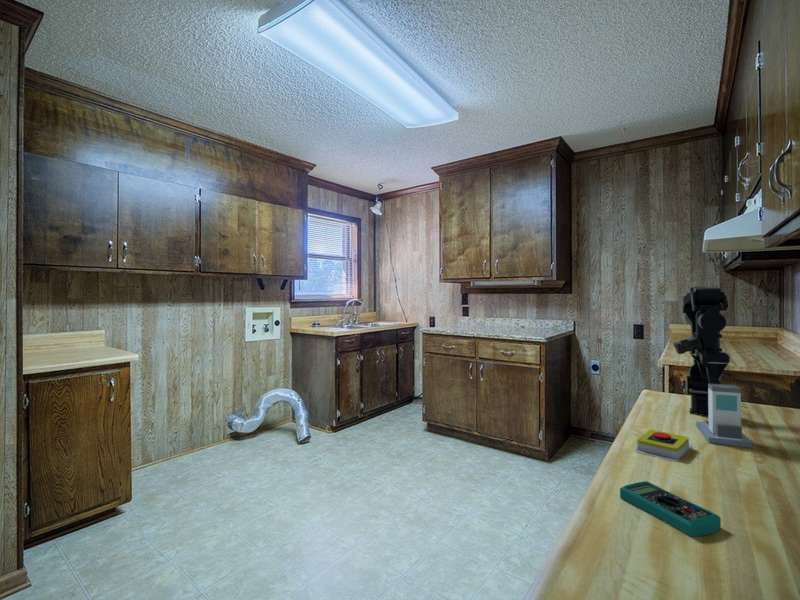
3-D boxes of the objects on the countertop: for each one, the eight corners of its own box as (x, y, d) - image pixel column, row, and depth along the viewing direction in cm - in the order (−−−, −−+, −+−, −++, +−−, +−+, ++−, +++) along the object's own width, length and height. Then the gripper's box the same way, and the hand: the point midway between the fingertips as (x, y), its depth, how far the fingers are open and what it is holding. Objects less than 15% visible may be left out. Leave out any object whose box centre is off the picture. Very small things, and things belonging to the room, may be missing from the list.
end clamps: (708, 425, 116) (708, 415, 116) (730, 427, 113) (730, 417, 113) (717, 436, 107) (717, 425, 107) (742, 439, 105) (741, 427, 105)
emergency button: (633, 436, 103) (652, 422, 113) (633, 453, 103) (652, 438, 113) (676, 445, 96) (692, 430, 106) (676, 464, 96) (692, 447, 106)
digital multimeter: (694, 542, 66) (694, 524, 66) (617, 499, 80) (617, 484, 80) (725, 532, 68) (725, 515, 68) (645, 492, 82) (645, 478, 82)
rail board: (696, 426, 121) (696, 421, 121) (734, 430, 117) (734, 424, 117) (708, 442, 108) (708, 437, 108) (752, 447, 104) (752, 441, 104)
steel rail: (704, 421, 120) (704, 420, 120) (725, 424, 118) (725, 422, 118) (717, 438, 107) (717, 436, 107) (742, 440, 105) (742, 439, 104)
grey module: (708, 428, 113) (708, 383, 113) (735, 430, 111) (735, 385, 111) (713, 433, 109) (712, 386, 109) (741, 436, 107) (740, 388, 107)
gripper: (670, 327, 133) (670, 375, 133) (681, 332, 116) (681, 386, 116) (712, 327, 128) (713, 377, 128) (730, 332, 111) (730, 390, 111)
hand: (708, 382), depth 121 cm, fingers open, 9 cm apart
